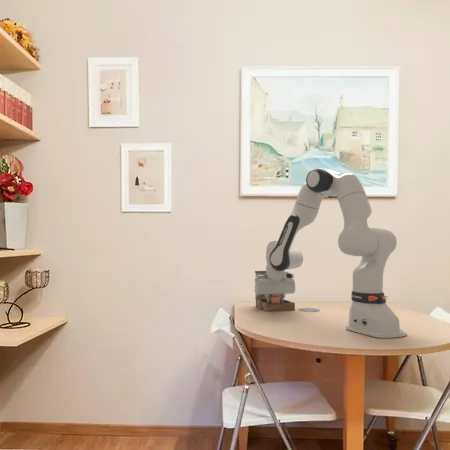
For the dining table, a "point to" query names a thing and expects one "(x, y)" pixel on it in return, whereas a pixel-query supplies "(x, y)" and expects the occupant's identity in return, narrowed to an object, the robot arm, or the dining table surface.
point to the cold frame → (274, 303)
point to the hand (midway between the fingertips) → (274, 303)
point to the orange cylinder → (275, 298)
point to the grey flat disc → (309, 310)
